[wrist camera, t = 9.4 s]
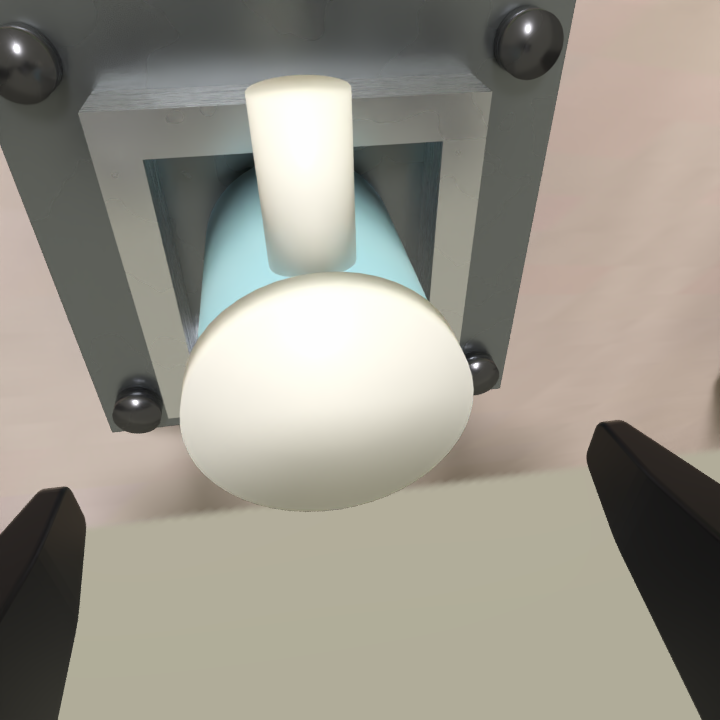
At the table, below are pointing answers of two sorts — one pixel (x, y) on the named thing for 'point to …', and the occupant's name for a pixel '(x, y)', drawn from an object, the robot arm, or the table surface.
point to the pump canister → (315, 324)
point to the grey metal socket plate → (235, 156)
